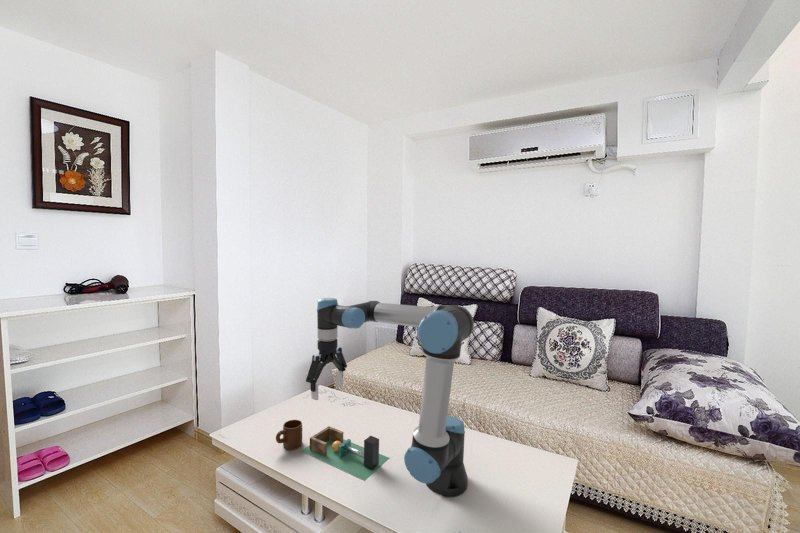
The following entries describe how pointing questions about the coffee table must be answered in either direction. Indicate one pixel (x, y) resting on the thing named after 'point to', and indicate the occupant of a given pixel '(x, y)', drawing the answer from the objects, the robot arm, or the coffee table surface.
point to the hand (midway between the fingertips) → (327, 392)
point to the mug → (291, 435)
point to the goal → (320, 439)
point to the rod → (369, 451)
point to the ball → (336, 446)
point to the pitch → (347, 460)
